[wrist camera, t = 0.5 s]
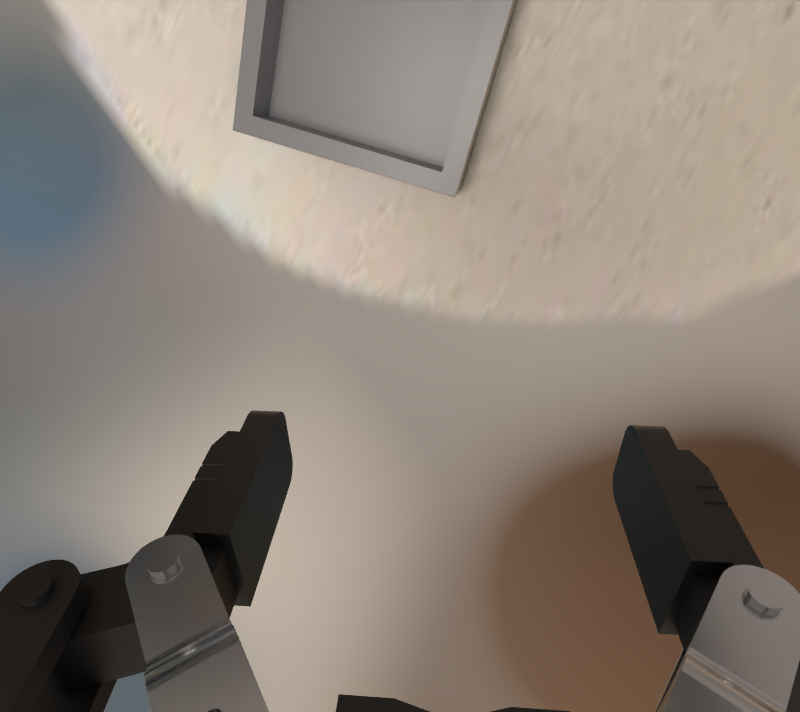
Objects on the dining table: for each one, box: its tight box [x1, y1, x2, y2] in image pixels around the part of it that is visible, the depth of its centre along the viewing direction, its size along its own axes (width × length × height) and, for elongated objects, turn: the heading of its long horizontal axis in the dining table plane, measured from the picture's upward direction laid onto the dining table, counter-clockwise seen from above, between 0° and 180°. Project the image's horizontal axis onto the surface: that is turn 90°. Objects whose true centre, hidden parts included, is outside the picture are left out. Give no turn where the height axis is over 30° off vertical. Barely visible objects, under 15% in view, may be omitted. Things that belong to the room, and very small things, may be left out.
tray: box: [233, 0, 517, 197], centre depth 33 cm, size 15×15×4 cm
